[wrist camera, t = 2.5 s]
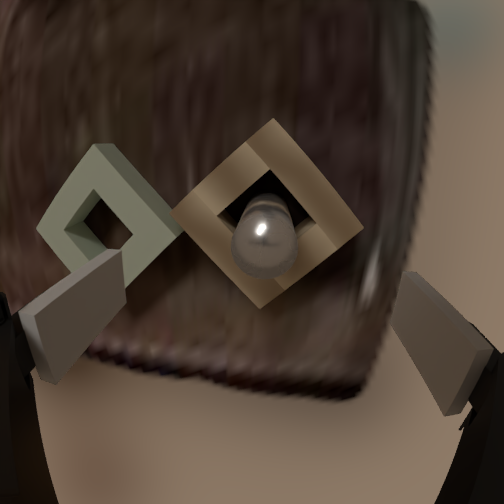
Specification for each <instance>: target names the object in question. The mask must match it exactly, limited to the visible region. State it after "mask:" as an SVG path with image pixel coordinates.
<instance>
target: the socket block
mask: <svg viewBox="0 0 504 504" xmlns="http://www.w3.org/2000/svg"><path fill="white" fill-rule="evenodd" d="M101 198H102V199H103V200H104V201H105V203H106V204H107V205H108V206H109V207H110V208H111V210H112V211H113V212H114V213H115V214H116V215H117V216H118V218H119V219H120V220H121V221H122V222H123V223H124V224H125V225H126V227H127V228H128V229H129V230H130V231H131V232H132V233H133V236H132V237H131V238H130V239H129V240H128V241H127V242H126V243H125V244H124V245H123V247H122V248H121V249H120V250H122V261H123V273H124V284H125V288H126V287H127V286H128V285H129V284H130V283H131V282H132V281H133V280H134V279H135V278H136V277H137V276H138V275H139V274H140V273H141V272H142V271H143V270H144V269H145V268H146V267H147V266H148V265H149V264H150V263H151V262H152V261H153V260H154V259H155V258H156V257H157V256H158V255H159V254H160V253H161V252H162V251H163V250H164V249H165V248H166V247H167V246H168V245H169V244H170V243H171V242H172V241H173V240H174V239H176V238H177V237H178V236H179V235H180V234H181V233H182V232H183V231H184V229H183V228H182V227H181V226H180V225H179V224H178V223H177V222H176V221H175V220H174V218H173V217H172V216H171V215H170V214H169V213H170V212H171V211H172V209H171V208H170V207H169V205H168V204H167V203H166V202H165V201H164V200H163V199H162V198H161V197H160V196H159V194H158V193H157V192H156V191H155V190H154V189H153V188H152V187H151V186H150V184H149V183H148V182H147V181H146V180H145V179H144V178H143V177H142V176H141V174H140V173H139V172H138V171H137V170H136V169H135V168H134V167H133V165H132V164H131V163H130V162H129V161H128V160H127V159H126V158H125V156H124V155H123V154H122V153H121V152H120V151H119V150H118V149H117V147H116V146H115V145H114V144H93V145H92V147H91V148H90V149H89V151H88V152H87V153H86V154H85V156H84V157H83V158H82V160H81V161H80V162H79V164H78V165H77V166H76V168H75V169H74V171H73V172H72V173H71V175H70V176H69V178H68V179H67V181H66V182H65V183H64V185H63V186H62V188H61V189H60V191H59V192H58V194H57V195H56V197H55V198H54V200H53V202H52V203H51V205H50V206H49V208H48V209H47V211H46V213H45V214H44V216H43V218H42V219H41V221H40V223H39V224H38V226H37V228H36V229H37V230H38V232H39V233H40V234H41V236H42V237H43V238H44V240H45V241H46V242H47V243H48V245H49V246H50V247H51V248H52V250H53V251H54V252H55V253H56V255H57V256H58V257H59V258H60V260H61V261H62V262H63V263H64V264H65V266H66V267H67V268H68V269H69V270H70V271H71V273H72V272H74V271H75V270H77V269H78V268H80V267H81V266H83V265H84V264H86V263H87V262H89V261H90V260H92V259H93V258H95V257H96V256H98V255H99V254H101V253H103V252H104V251H106V250H107V248H106V247H105V246H104V245H103V244H102V243H101V241H100V240H99V239H98V238H97V237H96V236H95V234H94V233H93V232H92V231H91V230H90V229H89V227H88V226H87V225H86V224H85V223H84V219H85V218H86V217H87V215H88V214H89V213H90V211H91V210H92V209H93V208H94V206H95V205H96V204H97V202H98V201H99V200H100V199H101Z"/></svg>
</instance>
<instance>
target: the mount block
mask: <svg viewBox="0 0 504 504" xmlns="http://www.w3.org/2000/svg"><path fill="white" fill-rule="evenodd" d="M269 169H271V170H272V172H273V173H274V174H275V175H276V176H277V177H278V178H279V180H280V181H281V182H282V183H283V184H284V185H285V186H286V188H287V189H288V190H289V191H290V192H291V193H292V195H293V196H294V197H295V198H296V199H297V200H298V202H299V203H300V204H301V205H302V206H303V208H304V209H305V210H306V211H307V212H308V214H309V216H308V217H307V218H306V219H305V220H303V221H302V222H301V223H300V224H298V225H297V226H296V227H295V228H294V230H295V233H296V237H297V241H298V254H297V257H296V260H295V262H294V264H293V265H292V267H291V268H290V269H289V270H288V271H287V272H285V273H284V274H282V275H280V276H278V277H276V278H272V279H257V278H254V277H251V276H249V275H247V274H245V273H244V272H243V271H242V270H241V269H239V267H238V266H237V265H236V263H235V262H234V259H233V257H232V254H231V240H232V237H233V234H234V232H235V230H236V227H237V225H238V223H237V222H236V221H235V220H234V219H233V218H232V217H231V215H230V214H229V213H228V212H227V211H226V210H225V208H226V207H227V206H228V205H229V204H230V203H231V202H233V201H234V200H235V199H236V198H237V197H238V196H239V195H241V194H242V193H243V192H244V191H245V190H246V189H247V188H249V187H250V186H251V185H252V184H253V183H254V182H255V181H257V180H258V179H259V178H260V177H261V176H262V175H264V174H265V173H266V172H267V171H268V170H269ZM169 214H170V215H171V216H172V217H173V218H174V220H175V221H176V222H177V223H178V224H179V225H180V226H181V227H182V228H183V229H184V230H185V231H186V233H187V234H188V235H189V236H190V237H191V238H192V239H193V240H194V241H195V242H196V243H197V244H198V245H199V247H200V248H201V249H202V250H203V251H204V252H205V253H206V254H207V255H208V256H209V257H210V258H211V259H212V260H213V261H214V262H215V263H216V265H217V266H218V267H219V268H220V269H221V270H222V271H223V272H224V273H225V274H226V275H227V276H228V277H229V278H230V279H231V280H232V281H233V282H234V283H235V284H236V285H237V286H238V287H239V289H240V290H241V291H242V292H243V293H244V294H245V295H246V296H247V297H248V298H249V299H250V300H251V301H252V302H253V303H254V304H255V305H256V306H257V307H258V308H259V309H261V308H262V307H263V306H265V305H266V304H268V303H269V302H270V301H272V300H273V299H274V298H276V297H277V296H278V295H280V294H281V293H282V292H283V291H285V290H286V289H287V288H289V287H290V286H291V285H293V284H294V283H295V282H297V281H298V280H299V279H300V278H302V277H303V276H304V275H306V274H307V273H308V272H309V271H311V270H312V269H313V268H315V267H316V266H317V265H318V264H320V263H321V262H322V261H324V260H325V259H326V258H327V257H329V256H330V255H331V254H332V253H334V252H335V251H336V250H337V249H339V248H340V247H341V246H342V245H344V244H345V243H346V242H347V241H349V240H350V239H351V238H352V237H353V236H355V235H356V234H357V233H358V232H360V231H361V230H362V229H363V228H364V227H363V226H362V225H361V223H360V222H359V221H358V219H357V218H356V217H355V215H354V214H353V213H352V211H351V210H350V209H349V207H348V206H347V205H346V203H345V202H344V201H343V200H342V198H341V197H340V196H339V194H338V193H337V192H336V191H335V189H334V188H333V187H332V186H331V184H330V183H329V182H328V181H327V179H326V178H325V177H324V176H323V175H322V173H321V172H320V171H319V170H318V168H317V167H316V166H315V165H314V164H313V162H312V161H311V160H310V159H309V158H308V157H307V155H306V154H305V153H304V152H303V151H302V150H301V148H300V147H299V146H298V145H297V144H296V143H295V142H294V140H293V139H292V138H291V137H290V136H289V135H288V134H287V132H286V131H285V130H284V129H283V128H282V127H281V126H280V125H279V124H278V123H277V121H276V120H275V119H274V118H273V119H272V120H270V121H269V122H268V123H267V124H266V125H265V126H263V127H262V128H261V129H260V130H259V131H257V132H256V133H255V134H254V135H253V136H252V137H250V138H249V139H248V140H247V141H246V142H245V143H244V144H242V145H241V146H240V147H239V148H238V149H237V150H236V151H234V152H233V153H232V154H231V155H230V156H229V157H228V158H227V159H226V160H224V161H223V162H222V163H221V164H220V165H219V166H218V167H217V168H216V169H215V170H213V171H212V172H211V173H210V174H209V175H208V176H207V177H206V178H205V179H204V180H203V181H202V182H201V183H200V184H199V185H197V186H196V187H195V188H194V189H193V190H192V191H191V192H190V193H189V194H188V195H187V196H186V197H185V198H184V199H183V200H182V201H181V202H180V203H179V204H178V205H177V206H176V207H175V208H174V209H173V210H172V211H171V212H170V213H169Z"/></svg>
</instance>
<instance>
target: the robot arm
mask: <svg viewBox="0 0 504 504" xmlns="http://www.w3.org/2000/svg"><path fill="white" fill-rule="evenodd" d="M126 303H127V302H126V293H125V284H124V273H123V261H122V250H115V249H107V250H106V251H104V252H103V253H101V254H99V255H98V256H96V257H95V258H93V259H92V260H90V261H89V262H87V263H86V264H84V265H83V266H81V267H80V268H78V269H77V270H75V271H74V272H72V273H71V274H70V275H68V276H67V277H65V278H64V279H62V280H61V281H59V282H58V283H57V284H55V285H54V286H52V287H51V288H49V289H48V290H47V291H45V292H43V293H42V294H40V295H39V296H37V297H36V299H33V300H32V301H31V302H30V303H29V304H26V305H25V306H24V307H22V308H21V309H20V310H18V311H17V312H16V313H14V314H13V315H12V316H11V313H10V310H9V306H8V302H7V298H6V294H4V293H3V292H0V504H59V503H58V500H57V497H56V494H55V490H54V487H53V484H52V480H51V477H50V473H49V469H48V465H47V461H46V457H45V452H44V448H43V443H42V438H41V433H40V427H39V421H38V415H37V409H36V401H35V393H34V384H33V378H32V376H31V373H30V372H31V370H32V369H33V368H34V367H35V366H36V369H37V372H38V374H39V377H40V379H41V380H44V381H46V382H49V383H52V384H54V385H57V384H58V382H59V381H60V380H61V378H62V377H63V376H64V375H65V374H66V372H67V371H68V370H69V369H70V367H71V366H72V365H73V364H74V363H75V362H76V360H77V359H78V358H79V357H80V356H81V354H82V353H83V352H84V351H85V350H86V348H87V347H88V346H89V345H90V344H91V343H92V341H93V340H94V339H95V338H96V337H97V336H98V334H99V333H100V332H101V331H102V330H103V329H104V328H105V326H106V325H107V324H108V323H109V322H110V321H111V320H112V318H113V317H114V316H115V315H116V314H117V313H118V312H119V311H120V309H121V308H122V307H123V306H124V305H125V304H126ZM390 324H391V326H392V327H393V329H394V331H395V332H396V334H397V335H398V337H399V339H400V340H401V342H402V344H403V345H404V347H405V348H406V350H407V352H408V353H409V355H410V357H411V358H412V360H413V362H414V364H415V365H416V367H417V369H418V370H419V372H420V374H421V376H422V377H423V379H424V381H425V383H426V384H427V386H428V388H429V390H430V391H431V393H432V395H433V397H434V399H435V400H436V402H437V404H438V406H439V408H440V410H441V411H442V413H443V415H444V416H450V415H455V414H459V413H461V412H462V410H463V408H464V407H465V405H466V403H467V401H468V400H469V402H470V403H471V405H472V409H471V411H470V412H469V414H468V415H467V417H466V418H465V420H464V422H463V424H462V425H461V426H460V428H459V430H462V428H463V427H464V429H463V433H462V436H461V439H460V442H459V445H458V448H457V450H456V453H455V456H454V459H453V462H452V464H451V467H450V469H449V472H448V474H447V477H446V479H445V481H444V484H443V486H442V488H441V491H440V493H439V495H438V497H437V499H436V501H435V503H434V504H504V352H503V353H502V354H501V353H500V352H499V351H498V350H497V349H496V348H495V347H494V346H493V345H492V344H491V343H490V341H489V340H488V339H487V338H485V336H484V335H483V334H482V333H480V331H479V330H478V329H477V328H476V327H475V326H474V325H473V324H472V323H470V322H468V321H467V320H466V319H465V318H464V317H463V316H462V315H461V314H460V313H459V312H458V311H457V310H456V309H455V308H454V307H453V306H452V305H451V304H450V303H449V302H448V301H447V300H446V299H445V298H444V297H443V296H442V295H440V294H439V293H438V292H437V291H436V290H435V289H434V288H433V287H432V286H431V285H430V284H429V283H428V282H426V281H425V280H424V279H423V278H422V277H421V276H420V275H419V274H418V273H417V272H407V271H403V272H402V276H401V281H400V285H399V289H398V294H397V298H396V302H395V305H394V309H393V313H392V317H391V320H390Z"/></svg>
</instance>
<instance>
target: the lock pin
mask: <svg viewBox="0 0 504 504" xmlns="http://www.w3.org/2000/svg"><path fill="white" fill-rule="evenodd" d="M231 254H232V257H233V259H234V262H235V263H236V265H237V266H238V267H239V269H241V270H242V271H243V272H244V273H245V274H247V275H249V276H251V277H254V278H257V279H272V278H276V277H278V276H280V275H282V274H284V273H285V272H287V271H288V270H289V269H290V268H291V267H292V265H293V264H294V262H295V260H296V257H297V254H298V241H297V237H296V233H295V230H294V226H293V223H292V219H291V216H290V213H289V209H288V206H287V203H286V201H285V199H284V198H283V197H282V196H281V195H280V194H279V193H277V192H275V191H272V190H263V191H260V192H257V193H256V194H254V195H253V196H252V197H251V198H250V200H249V202H248V204H247V206H246V208H245V210H244V212H243V214H242V217H241V219H240V221H239V223H238V225H237V227H236V230H235V232H234V234H233V237H232V240H231Z"/></svg>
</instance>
